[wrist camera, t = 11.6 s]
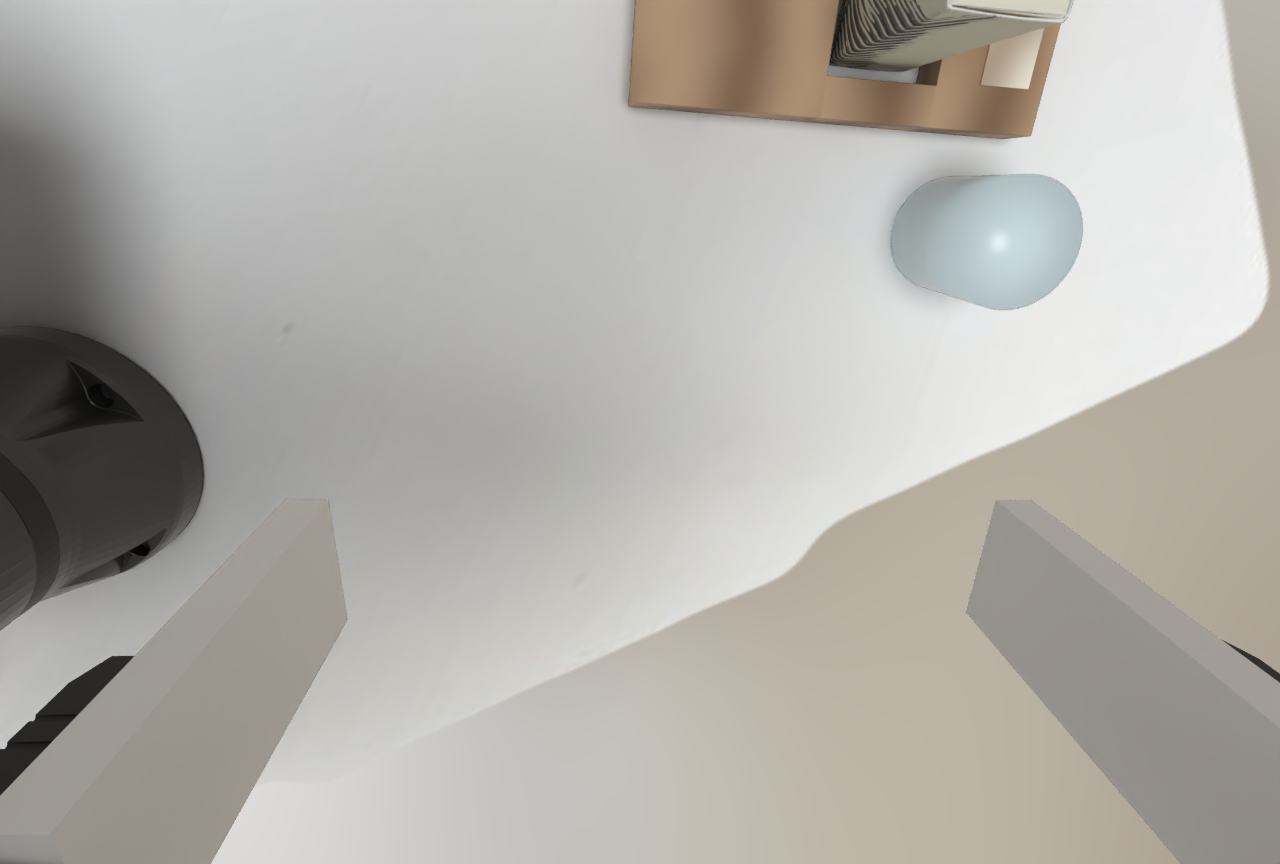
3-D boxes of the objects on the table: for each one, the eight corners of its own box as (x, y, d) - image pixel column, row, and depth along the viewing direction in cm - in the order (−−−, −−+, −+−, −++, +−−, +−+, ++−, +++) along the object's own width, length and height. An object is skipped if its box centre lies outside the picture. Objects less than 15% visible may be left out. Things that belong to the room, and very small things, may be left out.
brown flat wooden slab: (628, 106, 33) (629, 100, 31) (643, -138, 29) (646, -166, 27) (1003, 138, 34) (1032, 135, 32) (1061, -91, 31) (1098, -114, 28)
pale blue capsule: (882, 287, 37) (940, 309, 30) (900, 174, 35) (966, 171, 28) (984, 289, 37) (1063, 311, 31) (1008, 177, 35) (1098, 176, 28)
